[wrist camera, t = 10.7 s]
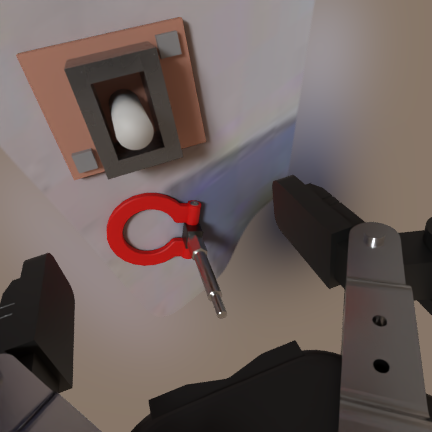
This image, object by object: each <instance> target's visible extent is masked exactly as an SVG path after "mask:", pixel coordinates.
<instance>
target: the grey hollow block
mask: <svg viewBox="0 0 432 432" xmlns="http://www.w3.org/2000/svg"><path fill="white" fill-rule="evenodd" d="M64 71H65V73H66V76H67V78H68V80H69V83H70V85H71V88H72V90H73V93H74V95H75V98H76V100H77V103H78V105H79V108H80V110H81V113H82V115H83V118H84V120H85V123H86V125H87V128H88V130H89V133H90V135H91V138H92V140H93V143H94V145H95V148H96V150H97V153H98V155H99V158H100V160H101V162H102V165H103V167H104V170H105V172H106V175H107V177H108V179H111V178H114V177H118V176H121V175H125V174H128V173H131V172H135V171H138V170H141V169H145V168H148V167H151V166H155V165H158V164H162V163H165V162H168V161H172V160H175V159H178V158H182V157H183V154H182V150H181V145H180V141H179V137H178V133H177V129H176V125H175V121H174V117H173V113H172V109H171V105H170V101H169V97H168V93H167V89H166V85H165V80H164V76H163V72H162V68H161V64H160V60H159V56H158V52H157V48H156V47H155V46H154V45H152V44H151V43H150V42H148V41H145V42H140V43H136V44H132V45H128V46H124V47H119V48H115V49H111V50H107V51H102V52H98V53H94V54H90V55H85V56H81V57H77V58H73V59H68V60H66V64H65V68H64ZM137 72H140V76H141V79H142V83H143V86H144V90H145V94H146V97H147V101H148V104H149V108H150V111H151V115H152V118H153V122H154V125H155V129H156V131H154V134H153V138H152V140H151V142H150V143H149V144H148V145H147V146H146V147H145V148H143V149H139V150H130V149H127V148H125V147H124V146H122V145H121V144H120V143H119V142H114V139H113V136H112V134H111V131H110V128H109V125H108V123H107V120H106V117H105V114H104V112H103V109H102V106H101V103H100V101H99V98H98V95H97V92H96V90H95V87H94V84H93V83H97V82H101V81H105V80H109V79H113V78H117V77H121V76H125V75H129V74H133V73H137Z"/></svg>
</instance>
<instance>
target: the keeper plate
mask: <svg viewBox="0 0 432 432" xmlns="http://www.w3.org/2000/svg"><path fill="white" fill-rule="evenodd" d="M145 41H148V42H150V43H151V44H152V45H154V46H155V47H156V48H157V52H158V56H159V60H160V64H161V68H162V72H163V76H164V80H165V85H166V89H167V93H168V97H169V101H170V105H171V109H172V113H173V117H174V121H175V125H176V129H177V133H178V137H179V141H180V145H181V149H183V148H187V147H190V146H193V145H197V144H200V143H204V142H206V138H205V133H204V128H203V123H202V118H201V112H200V107H199V102H198V97H197V92H196V87H195V82H194V77H193V72H192V66H191V61H190V56H189V51H188V46H187V41H186V36H185V31H184V26H183V21H182V18H181V17H177V18H173V19H168V20H164V21H160V22H155V23H151V24H146V25H142V26H137V27H133V28H128V29H124V30H120V31H115V32H111V33H106V34H102V35H97V36H93V37H89V38H84V39H80V40H75V41H71V42H66V43H62V44H58V45H53V46H49V47H44V48H40V49H35V50H31V51H26V52H22V53H18V54H17V55H16V56H17V58H18V60H19V62H20V65H21V67H22V69H23V71H24V73H25V75H26V77H27V80H28V82H29V84H30V86H31V88H32V90H33V92H34V95H35V97H36V99H37V101H38V103H39V105H40V108H41V110H42V112H43V114H44V116H45V118H46V120H47V123H48V125H49V127H50V129H51V131H52V133H53V135H54V138H55V140H56V142H57V144H58V146H59V148H60V150H61V153H62V155H63V157H64V159H65V161H66V163H67V165H68V168H69V170H70V172H71V174H72V176H73V178H74V180H77V179H80V178H84V177H87V176H90V175H94V174H97V173H101V172H104V171H105V170H104V167H103V165H102V162H101V160H100V158H99V155H98V153H97V150H96V148H95V145H94V143H93V140H92V138H91V135H90V133H89V130H88V128H87V125H86V123H85V120H84V118H83V115H82V113H81V110H80V108H79V105H78V103H77V100H76V98H75V95H74V93H73V90H72V88H71V85H70V83H69V80H68V78H67V76H66V73H65V71H64V68H65V64H66V60H68V59H73V58H77V57H81V56H85V55H90V54H94V53H98V52H102V51H107V50H111V49H115V48H119V47H124V46H128V45H132V44H136V43H140V42H145ZM93 84H94V87H95V90H96V92H97V95H98V98H99V101H100V103H101V106H102V109H103V112H104V114H105V117H106V120H107V123H108V125H109V128H110V131H111V134H112V136H113V139H114V142H119V143H120V144H121V145H122V146H124V147H125V148H127V149H130V150H139V149H143V148H145V147H146V146H147V145H148V144H149V143H150V142H151V140H152V138H153V134H154V131H156V129H155V125H154V122H153V118H152V115H151V111H150V108H149V104H148V101H147V97H146V94H145V90H144V86H143V83H142V79H141V76H140V72H137V73H133V74H129V75H125V76H121V77H117V78H113V79H109V80H105V81H101V82H97V83H93Z"/></svg>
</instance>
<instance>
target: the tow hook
mask: <svg viewBox="0 0 432 432" xmlns="http://www.w3.org/2000/svg"><path fill="white" fill-rule="evenodd" d="M149 209H155V210H160V211H163V212H165V213H167V214H168V215H170V216H171V217H172V218H173V220H174V221H175V222H176V223H184V226H183V233H182V238H173V239H171V240H170V242H169V243H167V244H166V245H165V246H163V247H161V248H159V249H156V250H153V251H142V250H138V249H135V248H133V247H132V246H130V245H129V244H128V243H127V242H126V241H125V239H124V237H123V228H124V225H125V223H126V222H127V220H128V219H129V218H130V217H131V216H133V215H134V214H136V213H138V212H140V211H143V210H149ZM200 209H201V203H200V202H198V201H195V200H191V201H188V203H179V202H178V201H177V200H175V199H173V198H171V197H169V196H167V195H163V194H158V193H143V194H139V195H136V196H132V197H130V198H129V199H127V200H125V201H123V202H122V203H121V204H120V205H118V206H117V207H116V208H115V209H114V211H113V212H112V214H111V216H110V217H109V220H108V224H107V240H108V243H109V245H110V248H111V249H112V250H113V252H114V253H115V254H116V255H117V256H118V257H120V258H121V259H123V260H124V261H126V262H129V263H132V264H135V265H143V266H146V265H156V264H159V263H163V262H166V261H167V260H169V259H171V258H173V257H175V256H182V257H183V258H185V259H191V258H192V259H193V260H195V262H196V264H197V267H198V270H199V273H200V276H201V279H202V282H203V284H204V287H205V290H206V293H207V296H208V299H209V300H210V301H212V302H213V305H214V308H215V311H216V313H217V316H218V318H220V319H221V318H224V317H226V316H227V312H226V310H225V307H224V305H223V302H222V300H221V297H222V293H221V290H220V288H219V285H218V283H217V280H216V278H215V275H214V273H213V270H212V268H211V265H210V263H209V260H208V258H207V249H206V246H205V244H204V242H203V239H202V235H203V231H202V229H201V226H200V224H199V216H200Z"/></svg>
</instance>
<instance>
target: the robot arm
mask: <svg viewBox="0 0 432 432" xmlns="http://www.w3.org/2000/svg"><path fill="white" fill-rule="evenodd" d="M272 190H273V202H274V214H275V220H276V223H277V225H278V227H279V229H280V231H282V233H283V234H284V235H285V237H286V238H287V239H288V240H289V241H290V242H291V244H292V245H293V246H294V247H295V249H296V250H297V251H298V252H299V253H300V255H301V256H302V257H303V258H304V259H305V261H306V262H307V263H308V264H309V265H310V267H311V268H312V269H313V270H314V271H315V273H316V274H317V275H318V276H319V277H320V279H321V280H322V281H323V282H324V283H325V285H326V286H327V287H328V288H329V289H331V288H333V287H336V286H338V285H341V286H342V287H343V288H344V289H345V293H344V309H343V324H342V325H343V326H342V341H341V355H339V354H336V353H333V352H328V351H320V350H304V351H301V349H300V347H299V346H298V344H297V342H296V341H292V342H290V343H287V344H285V345H283V346H280V347H277V348H275V349H273V350H270V351H268V352H265V353H263V354H261V355H259V356H258V357H257V358H255V359H254V360H253V361H251V362H250V363H249V364H247V365H246V366H245V367H243V368H242V369H240V370H239V371H238V372H237V373H235V374H234V375H232V376H231V377H229V378H227V379H222V380H216V381H208V382H202V383H195V384H188V385H185V386H182V387H180V388H177V389H175V390H172V391H170V392H167V393H165V394H162V395H160V396H158V397H155V398H153V399H151V400H149V406H150V414H149V415H148V416H146V417H145V418H144V419H143V420H142V421H141V422H140V423H139V424H137V425H136V427H135V428H134V429H133V430H132V431H131V432H432V396H431V395H428V394H426V392H425V385H424V377H423V369H422V361H421V353H420V346H419V339H418V330H417V323H416V315H415V307H414V300H417V301H418V302H419V303H420V304H421V305H422V306H423V307H424V308H425V309H426V310H427V311H428V312H429V313H430V314H431V315H432V217H431V218H430V219H428V221H427V223H426V226H425V230H423V231H413V232H405V233H397V231H396V230H395V229H393V228H392V227H390V226H388V225H385V224H382V223H376V222H364V221H363V220H362V219H360V218H359V217H358V216H357V215H356V214H354V213H353V212H352V211H351V210H349V209H348V208H347V207H346V206H344V205H343V204H342V203H339V201H338V200H337V199H336V198H335V197H332V195H331V194H330V193H328V192H327V191H326V190H325V189H323V188H322V187H319V186H316V185H313V184H311V183H309V184H306V185H305V184H304V183H303V182H301V181H300V180H299V179H298V178H297V177H296V176H294V175H291V176H288V177H285V178H281V179H278V180H275V181H273V184H272ZM74 310H75V300H74V294H73V291H72V288H71V286H70V285H69V282H68V280H67V279H66V277H65V275H64V274H63V272H62V270H61V269H60V267H59V265H58V264H57V262H56V260H55V259H54V257H53V256H52V255H51V254H50V253H47V254H44V255H41V256H37V257H34V258H31V259H28V260H25V261H24V264H23V268H22V272H21V277H20V278H19V279H16V280H13V281H12V282H11V283H10V285H9V286H8V288H7V289H6V290H5V292H4V293H3V296H2V299H1V303H0V432H102V431H100V430H99V429H98V428H97V427H96V426H95V425H94V424H93V423H91V422H90V421H89V420H88V419H87V418H86V417H85V416H84V415H82V414H81V413H80V412H79V411H78V410H77V409H76V408H74V407H73V406H72V405H71V404H70V403H69V402H68V401H67V400H65V399H64V398H63V397H62V396H61V395H60V394H59V393H60V392H63V391H66V390H68V389H71V388H72V383H73V382H72V381H73V347H74V346H73V344H74Z"/></svg>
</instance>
